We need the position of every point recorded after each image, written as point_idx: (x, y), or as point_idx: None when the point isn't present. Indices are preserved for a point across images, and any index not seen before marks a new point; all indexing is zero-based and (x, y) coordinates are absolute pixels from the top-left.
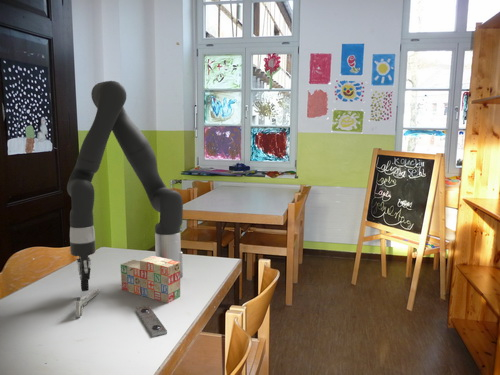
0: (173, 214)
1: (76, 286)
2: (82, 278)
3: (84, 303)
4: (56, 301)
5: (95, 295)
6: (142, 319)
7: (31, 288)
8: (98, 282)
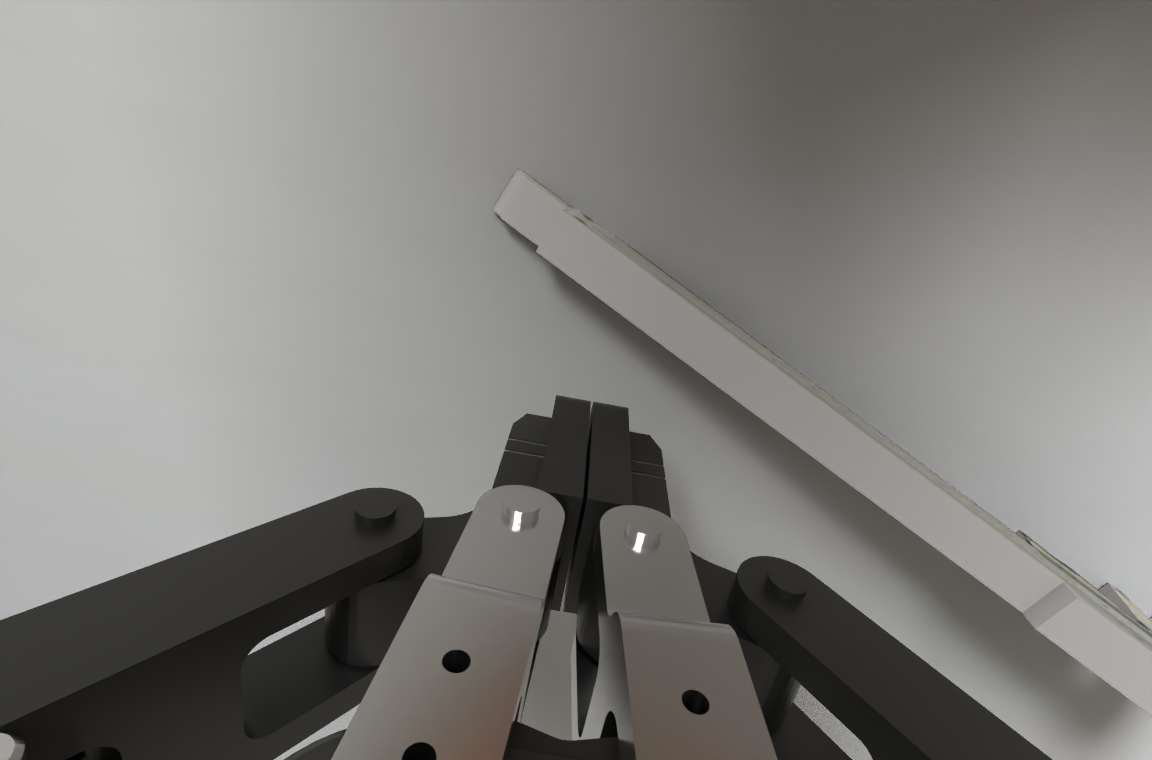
0: None
1: (160, 384)
2: (825, 749)
3: (1109, 605)
4: (545, 661)
5: (703, 302)
6: None
7: None
8: (96, 45)
